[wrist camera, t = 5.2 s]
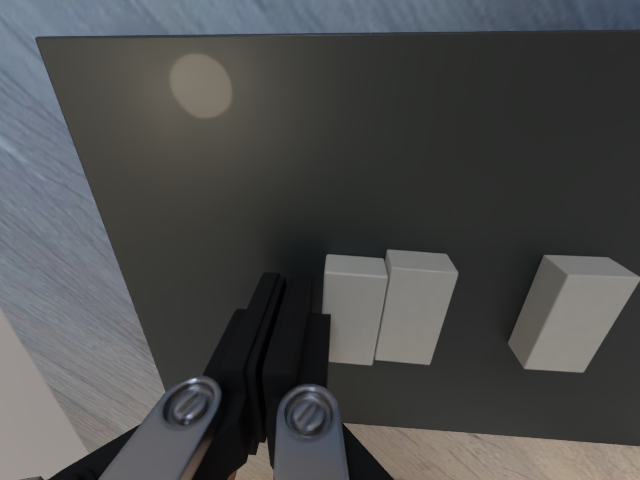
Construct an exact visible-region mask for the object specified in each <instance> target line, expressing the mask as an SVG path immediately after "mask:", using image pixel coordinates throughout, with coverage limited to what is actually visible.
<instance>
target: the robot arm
mask: <svg viewBox="0 0 640 480" xmlns="http://www.w3.org/2000/svg"><path fill="white" fill-rule="evenodd" d="M330 327H331V314H321V313H312V275H308V274H296V275H295V278H289V280H288V284H287V287H286V278H285V277H281V276H280V273H270V272H264V273H263V274H262V276H261V278H260V281H259V283H258V285H257V287H256V289H255V291H254V294H253V296H252V298H251V300H250V302H249V305H248V307H247V309H236V310H235V312H234V313H233V315H232V317H231V319H230V321H229V323H228V325H227V327H226V329H225V331H224V333H223V335H222V337H221V339H220V341H219V343H218V345H217V347H216V349H215V351H214V353H213V355H212V357H211V359H210V361H209V363H208V365H207V367H206V368H205V370H204V372H203V374H202V376H199V375H198V376H193V377H188V378H186V379H184V380H181V381H179V382H178V383H176V384H175V385H173V386H172V387H170V388H169V390H168V391H167V392H166V393H165V394H164V395H163V396H162V397H161V399H160V400H159V401H158V402H157V404H156V405H155V406H154V408H153V409H152V410H151V412H150V413H149V414H148V415H147V417H146V418H145V419H144V421H143V422H142V423H141V424H140V425H138V426H136V427H135V428H133V429H131V430H129V431H128V432H126V433H124V434H123V435H121V436H119V437H118V438H116V439H114V440H112V441H111V442H109V443H107V444H106V445H104V446H102V447H101V448H99V449H97V450H95V451H94V452H92V453H90V454H89V455H87V456H85V457H84V458H82V459H80V460H79V461H77V462H75V463H73V464H72V465H70V466H68V467H67V468H65V469H63V470H62V471H60V472H59V473H57V474H56V475H54V476H53V477H51V478H50V479H48V480H234V479H235V476H236V472H237V470H238V469H239V468H240V467H241V466H243V465H244V464H245V463H246V462H247V458H248V454H249V455H256V453H257V449H258V445H259V442H261V443H265V441H266V438H267V442H268V450H269V458H270V465H271V467H272V468H273V470H274V475H273V480H394V479H393V478H392V477H391V476H390V475H389V474H388V472H387V471H386V470H385V469H384V468H383V467H382V466H381V465H380V464H379V463H378V461H377V460H376V459H375V458H374V457H373V456H372V455H371V454H370V453H369V452H368V450H367V449H366V448H365V447H364V446H363V445H362V444H361V443H360V442H359V441H358V439H357V438H356V437H355V436H354V435H353V434H352V433H351V432H350V431H349V429H348V428H347V427H346V426H345V425H344V424H343V423H342V422H341V416H340V409H339V406H338V403H337V400H336V399H335V397H334V396H333V394H332V393H331V392H330V391H328V390H327V384H328V367H329V349H330ZM21 480H44V479H43V478H42V477H41V476H39V477H34V478H27V479H21Z"/></svg>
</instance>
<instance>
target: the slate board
mask: <svg viewBox="0 0 640 480" xmlns="http://www.w3.org/2000/svg"><path fill="white" fill-rule="evenodd" d="M35 40H36V43H37V45H38V48H39V51H40V53H41V56H42V59H43V62H44V64H45V67H46V70H47V72H48V75H49V78H50V80H51V83H52V86H53V89H54V91H55V94H56V97H57V99H58V102H59V105H60V107H61V110H62V113H63V116H64V118H65V121H66V124H67V126H68V129H69V132H70V134H71V137H72V140H73V143H74V145H75V148H76V151H77V153H78V156H79V159H80V161H81V164H82V167H83V170H84V172H85V175H86V178H87V180H88V183H89V186H90V188H91V191H92V194H93V197H94V199H95V202H96V205H97V207H98V210H99V213H100V215H101V218H102V221H103V224H104V226H105V229H106V232H107V234H108V237H109V240H110V242H111V245H112V248H113V251H114V253H115V256H116V259H117V261H118V264H119V267H120V269H121V272H122V275H123V278H124V280H125V283H126V286H127V288H128V291H129V294H130V296H131V299H132V302H133V305H134V307H135V310H136V313H137V315H138V318H139V321H140V324H141V326H142V329H143V332H144V334H145V337H146V340H147V342H148V345H149V348H150V351H151V353H152V356H153V359H154V361H155V364H156V367H157V369H158V372H159V375H160V378H161V380H162V383H163V386H164V388H165V391H166V392H167V391H168V390H169V388H170V387H172V386H173V385H175V384H176V383H178V382H179V381H181V380H184V379H186V378H188V377H193V376H198V375H199V376H202V374H203V372H204V370H205V368H206V367H207V365H208V363H209V361H210V359H211V357H212V355H213V353H214V351H215V349H216V347H217V345H218V343H219V341H220V339H221V337H222V335H223V333H224V331H225V329H226V327H227V325H228V323H229V321H230V319H231V317H232V315H233V313H234V312H235V310H236V309H247V307H248V305H249V302H250V300H251V298H252V296H253V294H254V291H255V289H256V287H257V285H258V283H259V281H260V278H261V276H262V274H263V273H264V272H270V273H280V276H281V277H285V278H286V287H287V284H288V280H289V278H295V275H296V274H308V275H312V313H321V314H322V302H323V286H324V271H325V262H326V256H327V254H333V255H346V256H360V257H373V258H383V259H384V262H385V258H386V252H387V250H388V249H389V250H402V251H416V252H429V253H442V254H447V255H448V257H449V259H450V260H451V262H452V263H453V265H454V266H455V268H456V270H457V271H458V277H457V280H456V283H455V287H454V290H453V293H452V296H451V299H450V303H449V306H448V309H447V312H446V315H445V318H444V322H443V325H442V328H441V331H440V334H439V337H438V341H437V344H436V347H435V350H434V353H433V356H432V360H431V363H430V365H424V364H413V363H403V362H392V361H382V360H375V357H374V359H373V364H372V365H359V364H348V363H338V362H329V367H328V384H327V390H328V391H330V392H331V393H332V394H333V396H334V397H335V399H336V400H337V403H338V406H339V409H340V416H341V422H342V423H352V424H365V425H378V426H390V427H403V428H416V429H428V430H441V431H454V432H466V433H479V434H492V435H504V436H517V437H530V438H542V439H555V440H568V441H580V442H593V443H606V444H619V445H631V446H640V281H639V283H638V284H637V286H636V288H635V289H634V291H633V292H632V294H631V296H630V297H629V299H628V301H627V302H626V304H625V306H624V307H623V309H622V310H621V312H620V314H619V315H618V317H617V319H616V320H615V322H614V323H613V325H612V327H611V328H610V330H609V332H608V333H607V335H606V337H605V338H604V340H603V341H602V343H601V345H600V346H599V348H598V350H597V351H596V353H595V354H594V356H593V358H592V359H591V361H590V363H589V364H588V366H587V368H586V369H585V371H584V372H583V373H580V372H564V371H548V370H533V369H524V368H523V366H522V365H521V363H520V362H519V360H518V359H517V357H516V356H515V354H514V352H513V351H512V349H511V348H510V346H509V345H508V341H509V339H510V336H511V334H512V331H513V329H514V327H515V324H516V322H517V319H518V317H519V314H520V312H521V309H522V307H523V305H524V302H525V300H526V297H527V295H528V292H529V290H530V287H531V285H532V283H533V280H534V278H535V275H536V273H537V270H538V268H539V265H540V263H541V261H542V258H543V256H544V255H563V256H589V257H608V258H610V259H612V260H613V261H615V262H617V263H618V264H620V265H621V266H623V267H625V268H626V269H628V270H629V271H631V272H633V273H634V274H636V275H637V276H639V277H640V30H563V31H477V32H391V33H305V34H219V35H132V36H46V37H36V38H35Z"/></svg>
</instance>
